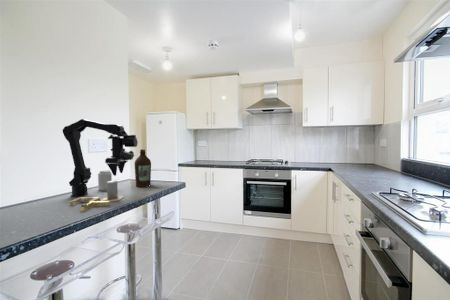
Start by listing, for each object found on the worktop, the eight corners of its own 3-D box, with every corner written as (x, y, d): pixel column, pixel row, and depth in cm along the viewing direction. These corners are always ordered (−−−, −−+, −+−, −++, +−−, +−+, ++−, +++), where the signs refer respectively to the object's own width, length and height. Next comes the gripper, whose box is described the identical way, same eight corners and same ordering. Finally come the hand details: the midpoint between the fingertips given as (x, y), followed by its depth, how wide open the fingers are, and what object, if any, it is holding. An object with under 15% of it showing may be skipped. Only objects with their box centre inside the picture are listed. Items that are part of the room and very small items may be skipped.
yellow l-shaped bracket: (79, 211, 98) (79, 205, 98) (89, 205, 107) (89, 199, 107) (101, 210, 99) (101, 204, 99) (109, 205, 108) (109, 199, 108)
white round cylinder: (105, 199, 116) (105, 182, 116) (109, 197, 121) (109, 180, 121) (115, 199, 117) (115, 182, 116) (119, 196, 122) (118, 180, 121)
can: (96, 191, 137) (96, 171, 136) (100, 188, 144) (99, 170, 143) (110, 190, 138) (109, 171, 138) (113, 188, 146) (112, 169, 145)
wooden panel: (99, 201, 114) (99, 200, 114) (107, 196, 123) (107, 196, 123) (117, 201, 115) (117, 200, 115) (124, 196, 124) (124, 195, 124)
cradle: (70, 205, 107) (69, 201, 107) (78, 201, 115) (78, 197, 115) (93, 204, 108) (93, 200, 108) (101, 200, 116) (101, 196, 115)
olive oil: (133, 185, 154) (133, 149, 152) (149, 183, 159) (148, 149, 158) (136, 188, 145) (135, 150, 143) (153, 186, 150) (152, 149, 149)
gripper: (126, 147, 117) (127, 176, 118) (137, 146, 136) (137, 171, 137) (104, 147, 116) (105, 177, 117) (118, 146, 135) (119, 171, 136)
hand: (118, 174), depth 127 cm, fingers open, 9 cm apart
